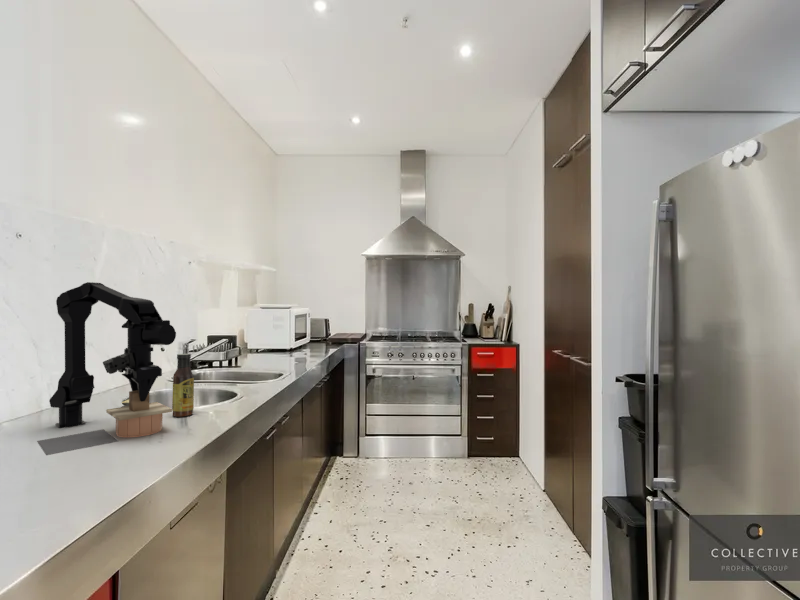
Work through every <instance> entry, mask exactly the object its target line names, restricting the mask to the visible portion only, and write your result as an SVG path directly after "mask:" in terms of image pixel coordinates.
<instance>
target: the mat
mask: <svg viewBox="0 0 800 600" xmlns="http://www.w3.org/2000/svg"><path fill="white" fill-rule="evenodd" d="M36 442H37V444H38V445H39V446H40V448H41V450H42V451H43V452H44V454H45V456H50V455H55V454H56V455H57V454H60V453H64V452H65V453H66V452H71V451H75V450H77V451H78V450H82V449H85V448H92V447H96V446H102V445H107V444H112V443H117V442H119V440H118V439H116V437H114V436H113V435H112V434H110V433H109V432H108V431H107V430H106V429H103V428H102V429H98V430H93V431H87V432H86V431H85V432H82V433H81V432H80V433H75V434H69V435H65V436H64V435H63V436H57V437H52V438H46V439H41V440H40V439H39V440H36Z"/></svg>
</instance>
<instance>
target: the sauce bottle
mask: <svg viewBox="0 0 800 600" xmlns="http://www.w3.org/2000/svg"><path fill="white" fill-rule="evenodd" d="M176 355H177V356H176V360H177V368H176V370H175V372H174V373H173V377H172V399H171V400H172V401H171V402H172V405H171V406H172V408H171V409H172V416H173V417H177V418H181V417H188V416H191V415H193V413H194V409H195V408H194V404H195V403H194V402H195V400H194V398H195V397H194V396H195V377H194V374H193V372H192V369H191V357H192V355H191V353H178V354H176Z"/></svg>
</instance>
